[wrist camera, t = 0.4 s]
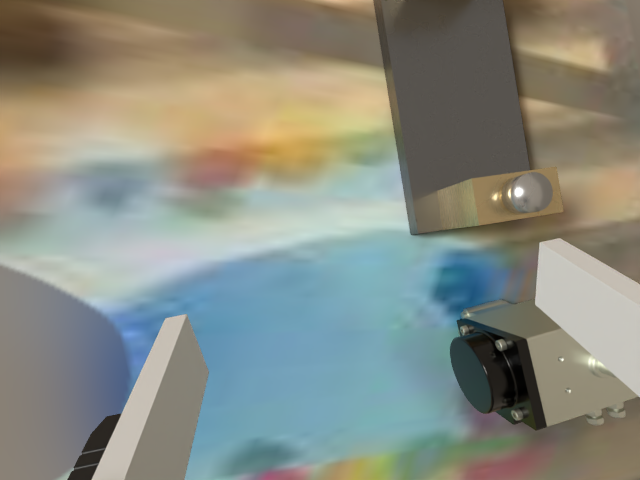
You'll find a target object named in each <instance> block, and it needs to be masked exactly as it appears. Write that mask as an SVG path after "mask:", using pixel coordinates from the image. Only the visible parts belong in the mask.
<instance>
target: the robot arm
mask: <svg viewBox="0 0 640 480" xmlns="http://www.w3.org/2000/svg"><path fill="white" fill-rule="evenodd" d="M535 305H536V306H537V307H539V308H540V309H541V310H542V311H543V312H544V313H545V314H546V315H548V316H549V317H550V318H551V319H552V320H553V321H554V322H555V323H557V324H558V325H559V326H560V327H561V328H562V329H563V330H564V331H566V332H567V333H568V334H569V335H570V336H571V337H572V338H574V339H575V340H576V341H577V342H578V343H579V344H580V345H581V346H583V347H584V348H585V349H586V350H587V351H588V352H589V353H590V354H592V355H593V356H594V357H595V358H596V359H597V360H598V361H599V362H601V363H602V364H603V365H604V366H605V367H606V368H607V369H608V370H610V371H611V372H612V373H613V374H614V375H615V376H616V377H618V378H619V379H620V380H621V381H622V382H623V383H624V384H625V385H627V386H628V387H629V388H630V389H631V390H632V391H633V392H634V393H636V394H637V395H638V396H639V397H640V284H639V283H637V282H635V281H633V280H632V279H630V278H628V277H626V276H625V275H623V274H621V273H619V272H618V271H616V270H614V269H612V268H611V267H609V266H607V265H605V264H604V263H602V262H600V261H599V260H597V259H595V258H593V257H592V256H590V255H588V254H586V253H585V252H583V251H581V250H579V249H578V248H576V247H574V246H572V245H571V244H569V243H567V242H565V241H564V240H562V239H560V238H559V239H554V240H549V241H544V242H540V245H539V258H538V271H537V284H536V297H535ZM208 374H209V371H208V368H207V366H206V363H205V361H204V358H203V355H202V353H201V350H200V347H199V345H198V342H197V340H196V337H195V334H194V332H193V329H192V327H191V324H190V321H189V319H188V316H187V314H184V315H180V316H175V317H170V318H166V319H165V321H164V323H163V325H162V327H161V329H160V332H159V334H158V336H157V338H156V340H155V342H154V345H153V347H152V349H151V351H150V353H149V356H148V358H147V360H146V362H145V364H144V366H143V369H142V371H141V373H140V375H139V377H138V380H137V382H136V384H135V386H134V388H133V390H132V393H131V395H130V397H129V399H128V401H127V404H126V406H125V408H124V410H123V412H122V413H121V414H117V415H112V416H107V417H106V418H105V419H104V420H103V421H102V422H101V423H100V424H99V426H98V427H97V428H96V429H95V430H94V431H93V432H92V434H91V435H90V437H89V439H88V441H87V443H86V445H85V447H84V449H83V451H82V455H81V456H79V458H78V460H77V462H76V464H75V466H74V471H72V472H71V474H70V476H69V478H68V479H67V480H184V478H185V474H186V470H187V465H188V461H189V457H190V452H191V448H192V443H193V439H194V435H195V430H196V426H197V422H198V417H199V413H200V409H201V404H202V400H203V396H204V391H205V387H206V382H207V378H208Z"/></svg>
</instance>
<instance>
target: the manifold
mask: <svg viewBox="0 0 640 480" xmlns="http://www.w3.org/2000/svg"><path fill="white" fill-rule="evenodd" d="M374 6H375V13H376V19H377V25H378V32H379V38H380V44H381V50H382V57H383V63H384V69H385V76H386V82H387V88H388V95H389V101H390V107H391V113H392V120H393V126H394V132H395V139H396V145H397V151H398V158H399V164H400V170H401V176H402V183H403V189H404V195H405V202H406V208H407V214H408V221H409V227H410V233H411V235H413V234H421V233H427V232H433V231H440V230H447V229H455V228H463V227H471V226H479V225H485V224H491V223H498V222H504V221H510V220H517V219H523V218H529V217H535V216H542V215H548V214H554V213H561V212H564V210H563V204H562V198H561V192H560V186H559V180H558V173H557V167H550V168H543V169H536V170H530V166H529V160H528V154H527V148H526V141H525V135H524V129H523V123H522V117H521V111H520V104H519V98H518V92H517V86H516V80H515V74H514V67H513V61H512V55H511V49H510V43H509V37H508V30H507V24H506V18H505V12H504V6H503V0H374Z"/></svg>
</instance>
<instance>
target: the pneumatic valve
mask: <svg viewBox="0 0 640 480" xmlns="http://www.w3.org/2000/svg"><path fill="white" fill-rule="evenodd" d="M461 317H462V319H460V320H457V324H458V333H459V337H456V338H454V339H453V341H452V343H451V346H450V357H451V363H452V367H453V370H454V373H455V376H456V379H457V381H458V383H459V386H460V388H461V389H462V391H463V393H464V395H465V396H466V398H467V399H468V401H469V402H470V403H471V404H472V405H473V406H474V408H476V409H477V410H478V411H480V412H481V413H484V414H488V413H491V412H496V413H498V414H499V415H501V416H502V417H504V418H505V419H506V420H508V421H509V422H511V423H512V424H513V425H515V424H518V423H521V422H524V423H525V424H527V425H528V426H530V427H531V428H533V429H534V430H539V429H542V428H545V427H548V426H551V425H555V424H558V423H561V422H564V421H567V420H570V419H573V418H576V417H579V416H582V415H585V416H586V420H587V422H588V423H589V424H592V425H602V424H603V423H604V419H603V417H602V415H601V414H602V410H601V409H603V408H606V409H607V412H608V414H609V416H611V417H614V418H623V417H625V415H626V413H625V410H624V409H623V406H624V404H623V402H624V401H627V400H630V399H633V398H636V397H639V396H638V395H637V394H636V393H634V392H633V391H632V390H631V389H630V388H629V387H628V386H627V385H625V384H624V383H623V382H622V381H621V380H620V379H619V378H618V377H616V376H615V375H614V374H613V373H612V372H611V371H610V370H608V369H607V368H606V367H605V366H604V365H603V364H602V363H601V362H599V361H598V360H597V359H596V358H595V357H594V356H593V355H592V354H590V353H589V352H588V351H587V350H586V349H585V348H584V347H583V346H581V345H580V344H579V343H578V342H577V341H576V340H575V339H574V338H572V337H571V336H570V335H569V334H568V333H567V332H566V331H564V330H563V329H562V328H561V327H560V326H559V325H558V324H557V323H555V322H554V321H553V320H552V319H551V318H550V317H549V316H548V315H546V314H545V313H544V312H543V311H542V310H541V309H540V308H539V307H537V306H536V305H535V299H532V300H529V301H525V302H522V303H518V304H511V303H508V302H507V301H503V300H501V299H499V300H495V301H492V302H488V303H484V304H481V305H477V306H473V307H470V308H466V309H464V310H463V312H462V313H461Z"/></svg>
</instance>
